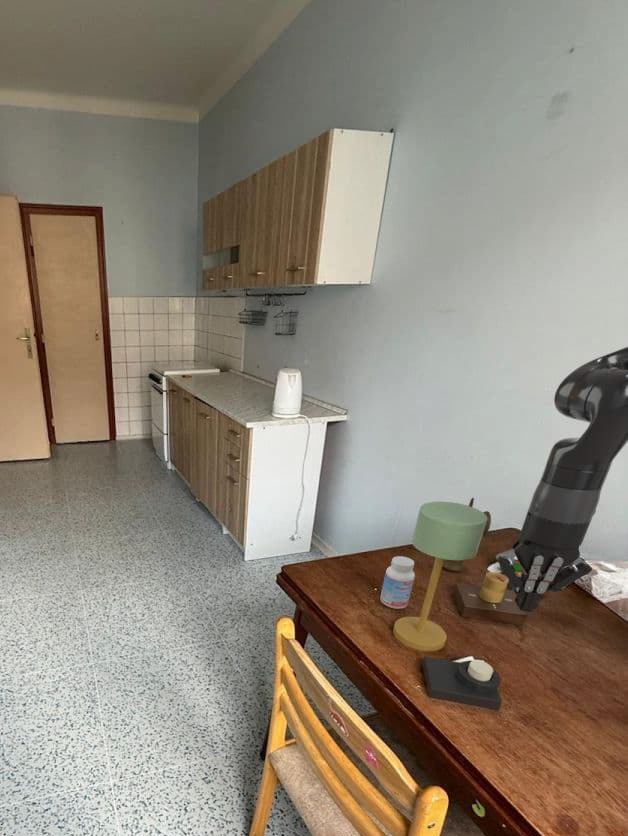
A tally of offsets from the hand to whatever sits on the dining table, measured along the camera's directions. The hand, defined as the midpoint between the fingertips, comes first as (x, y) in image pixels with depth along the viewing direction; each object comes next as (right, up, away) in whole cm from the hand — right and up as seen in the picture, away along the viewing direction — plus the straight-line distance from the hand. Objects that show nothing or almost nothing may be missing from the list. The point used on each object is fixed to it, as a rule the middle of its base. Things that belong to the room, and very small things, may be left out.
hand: (523, 608), depth 77 cm
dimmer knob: (+14, -1, +29) cm, 32 cm away
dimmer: (+14, -4, +31) cm, 34 cm away
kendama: (+16, +5, +47) cm, 50 cm away
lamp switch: (-3, -13, +7) cm, 15 cm away
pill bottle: (-6, -3, +34) cm, 34 cm away
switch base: (-5, -16, +9) cm, 19 cm away
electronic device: (+29, +2, +40) cm, 50 cm away
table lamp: (-6, -9, +22) cm, 25 cm away
